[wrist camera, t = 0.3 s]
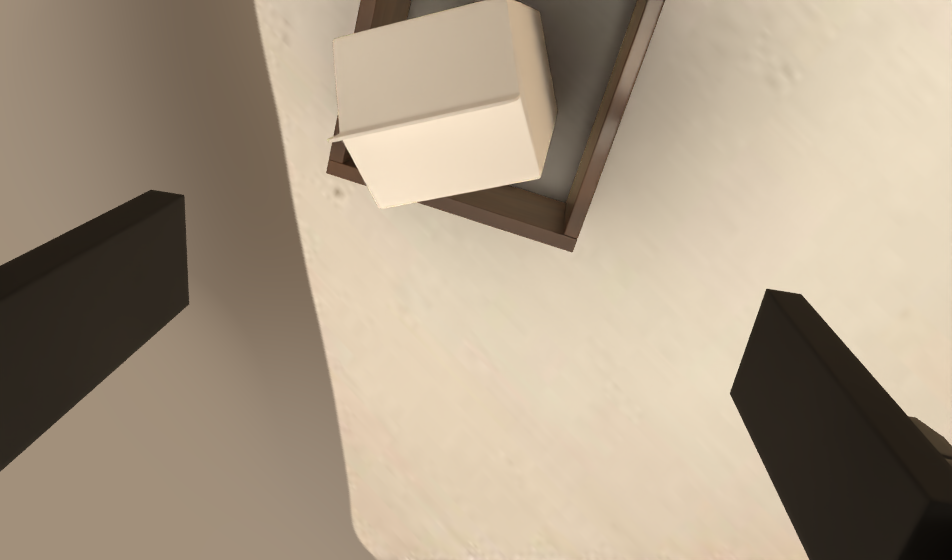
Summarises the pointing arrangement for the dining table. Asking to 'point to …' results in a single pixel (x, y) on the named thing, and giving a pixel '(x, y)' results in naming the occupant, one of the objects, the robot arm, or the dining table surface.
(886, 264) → the dining table surface
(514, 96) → the milk
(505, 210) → the caddy
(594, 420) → the dining table surface
